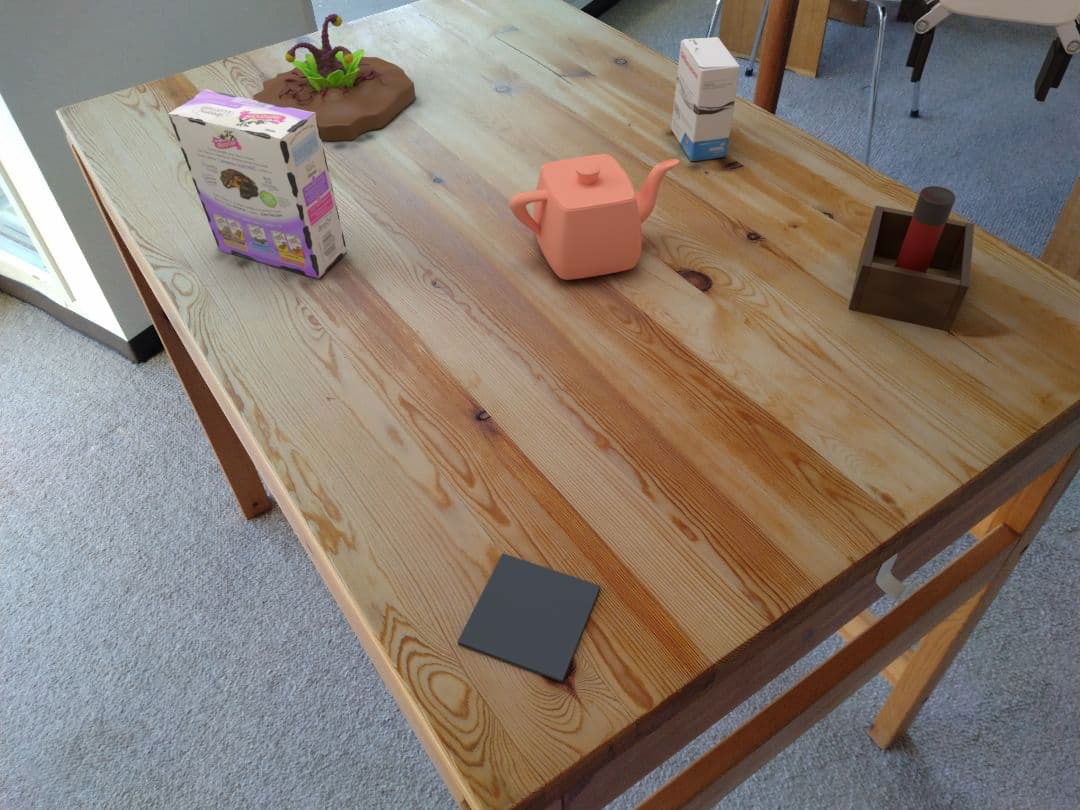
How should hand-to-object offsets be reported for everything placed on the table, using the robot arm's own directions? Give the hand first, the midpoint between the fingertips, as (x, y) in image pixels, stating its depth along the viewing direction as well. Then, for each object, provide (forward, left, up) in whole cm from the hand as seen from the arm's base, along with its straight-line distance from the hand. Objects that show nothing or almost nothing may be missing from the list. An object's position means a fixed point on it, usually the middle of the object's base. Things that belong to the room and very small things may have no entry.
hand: (976, 84), depth 71 cm
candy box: (+64, +16, -22) cm, 69 cm away
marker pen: (0, -1, -22) cm, 22 cm away
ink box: (+27, -22, -22) cm, 41 cm away
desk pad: (+21, +48, -22) cm, 57 cm away
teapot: (+32, +4, -22) cm, 39 cm away
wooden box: (0, -1, -22) cm, 22 cm away
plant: (+76, -16, -22) cm, 80 cm away
